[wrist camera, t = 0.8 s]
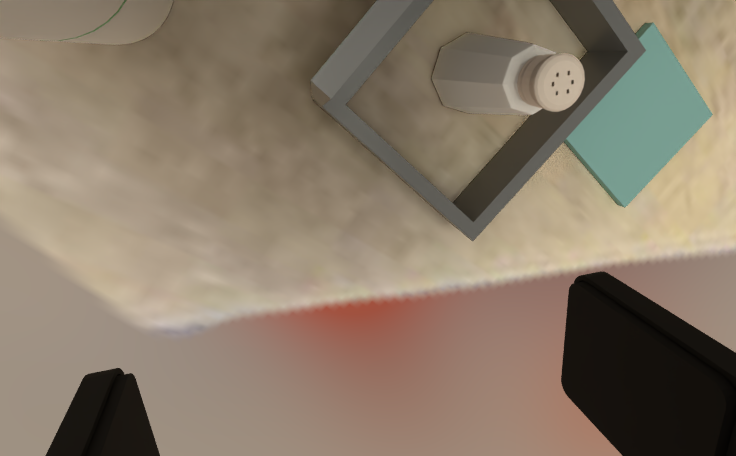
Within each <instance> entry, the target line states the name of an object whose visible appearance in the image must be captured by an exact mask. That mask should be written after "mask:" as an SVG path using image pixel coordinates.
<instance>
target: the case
mask: <svg viewBox="0 0 736 456" xmlns="http://www.w3.org/2000/svg"><path fill="white" fill-rule="evenodd" d="M432 1H433V0H413V1H412V3H411V4H410V5H409V6H408V7H407V9H406V10H405V11H404V12H403V13H402V15H401V16H400V17H399V18H398V19H397V21H396V22H395V23H394V24H393V25H392V27H391V28H390V29H389V30H388V31H387V33H386V34H385V35H384V36H383V37H382V39H381V40H380V41H379V42H378V43H377V45H376V46H375V47H374V48H373V49H372V51H371V52H370V53H369V54H368V55H367V57H366V58H365V59H364V60H363V61H362V62H361V64H360V65H359V66H358V67H357V68H356V70H355V71H354V72H353V73H352V74H351V76H350V77H349V78H348V79H347V80H346V82H345V83H344V84H343V85H342V86H341V88H340V89H339V90H338V91H337V92H336V94H335V95H334V96H333V97H332V98H331V99H330V100H329V101H328V102H327V103H326V104H324V105H323V106H321V105H320V104H319V103H317V102H316V101H315V100H314V99H313V101H314V102H315V103H316V104H317V105H319V106H320V107H321V108H322V109H323V110H324V111H325V112H326V113H327V114H329V115H330V116H331V117H332V118H333V119H334V120H335V121H336V122H338V123H339V124H340V125H341V126H342V127H343V128H344V129H345V130H347V131H348V132H349V133H350V134H351V135H352V136H353V137H354V138H356V139H357V140H358V141H359V142H360V143H361V144H362V145H363V146H364V147H366V148H367V149H368V150H369V151H370V152H371V153H372V154H373V155H375V156H376V157H377V158H378V159H379V160H380V161H381V162H382V163H384V164H385V165H386V166H387V167H388V168H389V169H390V170H391V171H393V172H394V173H395V174H396V175H397V176H398V177H399V178H400V179H401V180H403V181H404V182H405V183H406V184H407V185H408V186H409V187H410V188H412V189H413V190H414V191H415V192H416V193H417V194H418V195H419V196H421V197H422V198H423V199H424V200H425V201H426V202H427V203H428V204H430V205H431V206H432V207H433V208H434V209H435V210H436V211H437V212H439V213H440V214H441V215H442V216H443V217H444V218H445V219H446V220H447V221H449V222H450V223H451V224H452V225H453V226H455V227H456V228H457V229H458V230H459V231H461V232H462V233H463V234H464V235H466V236H467V237H468V238H469V239H471V240H472V241H474V240H475V238H476V237H477V236H478V235H479V234H480V233H481V232H482V231H483V230H484V229H485V227H486V226H487V225H488V224H489V223H490V222H491V221H492V220H493V219H494V218H495V216H496V215H497V214H498V213H499V212H500V211H501V210H502V209H503V208H504V206H505V205H506V204H507V203H508V202H509V201H510V200H511V199H512V198H513V197H514V195H515V194H516V193H517V192H518V191H519V190H520V189H521V188H522V187H523V186H524V184H525V183H526V182H527V181H528V180H529V179H530V178H531V177H532V176H533V175H534V173H535V172H536V171H537V170H538V169H539V168H540V167H541V166H542V165H543V164H544V162H545V161H546V160H547V159H548V158H549V157H550V156H551V155H552V154H553V153H554V151H555V150H556V149H557V148H558V147H559V146H560V145H561V144H562V143H563V142H564V140H565V139H566V138H567V137H568V136H569V135H570V134H571V133H572V132H573V131H574V129H575V128H576V127H577V126H578V125H579V124H580V123H581V122H582V121H583V120H584V118H585V117H586V116H587V115H588V114H589V113H590V112H591V111H592V110H593V109H594V107H595V106H596V105H597V104H598V103H599V102H600V101H601V100H602V99H603V98H604V96H605V95H606V94H607V93H608V92H609V91H610V90H611V89H612V88H613V87H614V85H615V84H616V83H617V82H618V81H619V80H620V79H621V78H622V77H623V75H624V74H625V73H626V72H627V71H628V70H629V69H630V68H631V67H632V66H633V64H634V63H635V62H636V61H637V60H638V59H639V58H640V57H641V56H642V55H643V53H644V52H645V51H646V49H645V48H644V46H643V45H642V43H641V42H640V40H639V39H638V38H637V36H636V35H635V33H634V32H633V30H632V29H631V27H630V26H629V24H628V23H627V21H626V20H625V18H624V17H623V15H622V14H621V12H620V11H619V9H618V8H617V6H616V5H615V3H614V2H613V0H550V1H551V2H552V4H553V5H554V6H555V8H556V9H557V10H558V12H559V13H560V14H561V16H562V17H563V19H564V20H565V21H566V23H567V24H568V25H569V27H570V28H571V29H572V31H573V32H574V33H575V35H576V36H577V37H578V39H579V40H580V41H581V43H582V44H583V46H584V47H585V48H586V50H587V51H588V52H587V53H586V54H585V55H584V57H583V58H582V59H581V60H580V62H581V64H582V66H583V69H584V76H585V81H584V87H583V89H582V92H581V94H580V96H579V97H578V99H577V100H576V102H575V103H574V104H573V105H572V106H570V107H569V108H567V109H565V110H562V111H559V112H552V111H548V110H545V109H541V110H539V111H538V112H536V113H534V114H533V115H531V116H530V117H529V118H528V119H527V120H526V122H525V123H524V124H523V125H522V126H521V127H520V128H519V129H518V131H517V132H516V133H515V134H514V135H513V136H512V137H511V138H510V139H509V141H508V142H507V143H506V144H505V145H504V146H503V147H502V148H501V150H500V151H499V152H498V153H497V154H496V155H495V156H494V157H493V158H492V160H491V161H490V162H489V163H488V164H487V165H486V166H485V167H484V169H483V170H482V171H481V172H480V173H479V174H478V175H477V176H476V178H475V179H474V180H473V181H472V182H471V183H470V184H469V185H468V186H467V188H466V189H465V190H464V191H463V192H462V193H461V194H460V195H459V197H458V198H457V199H456V200H455V201H454V202H453V203H452V202H451V201H450V200H449V199H448V198H446V197H445V196H444V195H443V194H442V193H441V192H440V191H439V190H438V189H437V188H436V187H434V186H433V185H432V184H431V183H430V182H429V181H428V180H427V179H426V178H425V177H424V176H423V175H421V174H420V173H419V172H418V171H417V170H416V169H415V168H414V167H413V166H412V165H411V164H409V163H408V162H407V161H406V160H405V159H404V158H403V157H402V156H401V155H400V154H399V153H398V152H396V151H395V150H394V149H393V148H392V147H391V146H390V145H389V144H388V143H387V142H386V141H384V140H383V139H382V138H381V137H380V136H379V135H378V134H377V133H376V132H375V131H374V130H373V129H371V128H370V127H369V126H368V125H367V124H366V123H365V122H364V121H363V120H362V119H361V118H359V117H358V116H357V115H356V114H355V113H354V112H353V111H352V110H351V109H350V108H349V107H348V106H346V104H347V103H348V101H349V100H350V99H351V98H352V97H353V95H354V94H355V93H356V92H357V91H358V89H359V88H360V87H361V86H362V85H363V84H364V82H365V81H366V80H367V79H368V78H369V76H370V75H371V74H372V73H373V72H374V70H375V69H376V68H377V67H378V66H379V64H380V63H381V62H382V61H383V60H384V59H385V57H386V56H387V55H388V54H389V53H390V51H391V50H392V49H393V48H394V47H395V45H396V44H397V43H398V42H399V41H400V40H401V38H402V37H403V36H404V35H405V34H406V32H407V31H408V30H409V29H410V28H411V26H412V25H413V24H414V23H415V22H416V20H417V19H418V18H419V17H420V16H421V15H422V13H423V12H424V11H425V10H426V9H427V7H428V6H429V5H430V4H431V3H432Z"/></svg>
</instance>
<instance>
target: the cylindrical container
mask: <svg viewBox="0 0 736 456" xmlns="http://www.w3.org/2000/svg"><path fill="white" fill-rule="evenodd" d="M172 3H173V0H0V38H6V39H23V40H40V41H56V42H73V43H91V44H108V45H123V44H132V43H135V42H138V41H141V40H144V39H145V38H147V37H148V36H150V35H152V34H153V33H154V32H155V31H156V30H158V29H159V28H160V27H161V26H162V24H163V23H164V21H165V20H166V18H167V17H168V14H169V12H170V9H171V7H172Z"/></svg>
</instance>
